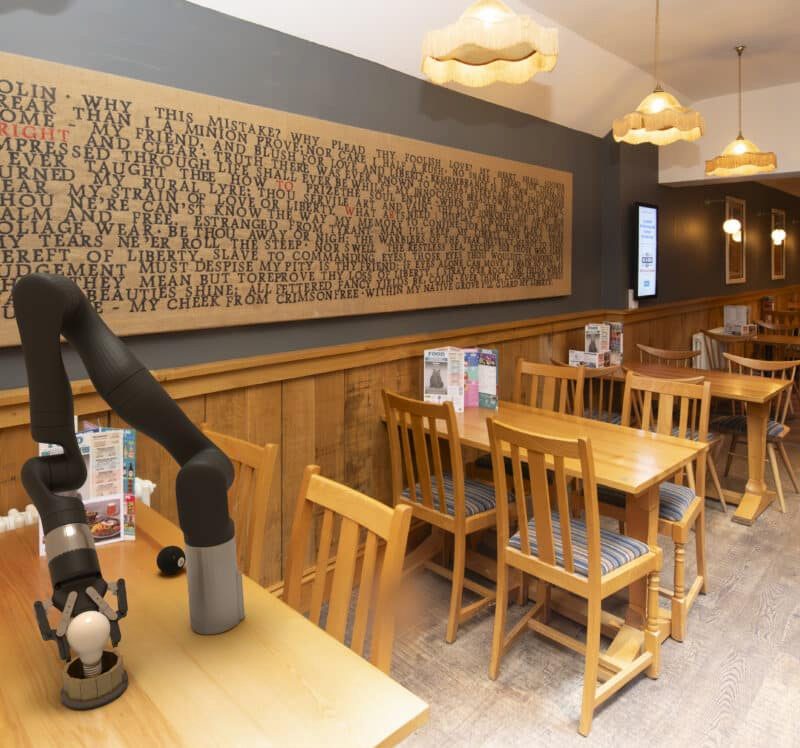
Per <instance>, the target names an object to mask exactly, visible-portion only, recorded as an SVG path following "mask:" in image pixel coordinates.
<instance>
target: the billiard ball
mask: <svg viewBox="0 0 800 748" xmlns="http://www.w3.org/2000/svg"><path fill="white" fill-rule="evenodd" d="M156 565H157V568H158V570H159V571H161V573H164V574H166V575H173V574H176V573H178V572H180V571H181V570H182V569H183V568H184V566H185V565H186V558H185V550H184V549H182V548H181V547H180V546H177V545H168V546H165V547H163V548H162V549H160V551H159V552H158V553H157V556H156Z"/></svg>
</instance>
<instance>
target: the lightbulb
mask: <svg viewBox="0 0 800 748" xmlns="http://www.w3.org/2000/svg"><path fill="white" fill-rule="evenodd" d="M66 635H67V640H68V643H69V648H71V649H72V651H74V652H75V653H76V654H77V656H79V657H80V660H81V661H82V662H83V669H84V676H85V677H87V678H93V677H96V676H98V675H99V674H100V673H101V672H102V664H101V656H102V653H103V649H104V647H105V646H106V643H107V642H108V640H109V638H110V623H109V620H108V619H107V617H106V616H105V615H104V614H102V613H100V612H97V611H87V612H83V613H81V614H79V615H78V616H76V617H75V618H72V620H70V622H69V625H68V628H67V631H66Z"/></svg>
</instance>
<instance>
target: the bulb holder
mask: <svg viewBox="0 0 800 748" xmlns="http://www.w3.org/2000/svg"><path fill="white" fill-rule="evenodd" d="M123 658H124V657H123V655H122V654H121V653H120V652H119V651H118V650H117V649H113V648H112V649H110V648H104V647H103V653H102V656H101V664H102V672H101V673H100V674H99V675H98V676H96V677H93V678H87V677H85V676H84V669H83V662H82V661H81V660H80V657H79V655H76V656H75V657H73V658H71V662H69V663H65V665H64V668H63V670H62V673H61V678H62V684H63V686H62V688H61V689H60V694H59V695H60V700H61V701H60V702H61V704H62V705H63V707H64V708H67V709H68V710H71V711H89V710H95V709H98V708H101V707H103V706H105V705H108V704H110V703H112V702H114V701H115V700H117V699H119V698H120V696H122V695H123V694H124V693H125V691H127V688H128V686H129V682H130V681H129V680H130V679H129V673H128V671H127V670H126V669H125V668H124V659H123Z"/></svg>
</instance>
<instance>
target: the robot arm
mask: <svg viewBox="0 0 800 748" xmlns="http://www.w3.org/2000/svg"><path fill="white" fill-rule="evenodd" d="M11 294H12V296H11V300H12V307H13V312H14V317H15V321H16V325H17V329H18V334H19V339H20V344H21V349H22V354H23V359H24V364H25V368H26V369H25V370H26V371H25V372H26V377H27V386H28V399H29V400H28V401H29V419H30V420H29V422H30V423H29V424H30V436H31V439H32V440H33V441H34V442H36V443H39V444H45V445H47V444H48V445H56V446H60V447H61V448H62V451H63V452H62V453H57V454H55V453H54V454H47V455H40V456H39V455H38V456H33V457H31V458H28V459H27V460H26V461H25V462H24V463H23V465H22V467H21V469H20V481H21V484H22V486H23V488H24V490H25V492H26V493H27V495H28V497H29V499H30V500H31V502H32V503H33V505H34V507H35V509H36V511H37V512H38V513H37V514H38V516H39V518H40V521H41V522H40V523H41V526H42V527H41V528H42V531H43V536H44V550H45V551H44V552H45V558H46V559H45V560H46V564H47V566H48V567H47V568H48V572H49V577H50V582H51V589H52V596H51V598H49V599H47V600H44V601H41V600H37V601H35V602H34V603H33V613H34V617H35V619H36V622H37V626H38V628H39V632H40V635H41V638H42V640H43V641H44V642H48V641H55V643H56V644H57V645H56V646H57V650H58V654H59V656H58V657H59V659H60V660H61V661H65V664H67V663H69V662H71V660H72V654H71V649H70V648H71V647H70V646H69V643H68V640H67V629H68V626H69V624H70V623H71V619H74V618H75V617H76V616H78V615H79V614H81V613H83V612H87V611H97V612H100V613H102V614H104V615H105V616H106V617H107V619H108V620H109V623H110V635H109V638H110V643H111V647H112V649H114V648H117V647H118V646H119V643H120V642H121V640H122V632H121V629H120V624H119V621H120V620H121V619H124V618H126V616H127V614H128V611H129V605H128V597H127V596H128V595H127V587H126V580H125V579H124V578H122V577H121V578H119V579H117V581H112V582H111V581H110V582H107V581H106V580H105V579H104V578H103V577H104V576H103V573H102V571H101V569H102V568H101V564H100V561H99V557H98V553H97V552H98V551H97V548H96V544H95V539H94V536H93V533H92V531H91V529H90V523H89V521H88V515H87V511H86V508H85V505H84V502H83V501H82V499H80V498H78V497H75V496H66V495H64V496H63V495H58V494H59V493H61V494H62V493H65V492H72V491H76V490H77V491H78V490H80V489H81V488H82V487H83V486H84V485H85V484H86V481H87V479H88V468H87V467H88V466H87V465H86V461H85V459H84V456H83V454H82V452H81V448H80V445H79V443H78V439H77V433H76V427H75V426H76V425H75V402H74V401H75V400H74V394H73V388H72V385H71V382H70V379H69V376H68V373H67V370H66V367H65V363H64V361H63V360H64V358H63V353H62V346H61V345H62V344H61V336H62V337H63V338H64V339H65V340H66V342H68V343H69V345H70V346H71V347H72V348H73V349H74V350H75V352H76V353H77V354H78V357H79V358H80V360H81V362H82V363H83V366H84V368H85V370H86V373H87V375H88V377H89V380H90V382H91V384H92V385H93V387H94V389H95V392H97V393H98V395H99V397H101V399H102V400H104V403H106V405H108V407H109V408H110V409H111V410H112V411H113V412H114V413H115V415H116V416H118V417H119V419H121V420H122V421H123V422H124V423H126V424H127V425H128V426H130V427H131V428H132V429H135V430H136V431H138V432H139V433H141V434H143V435H145V436H146V437H147V438H149V439H151V440H152V441H154V442H156V443H157V444H158V445H160V446H161V447H162V448H163V449H165V450H166V452H168V453H169V455H170V456H171V457H172V458H173V459H174V461H175V462H176V463H177V464H178V466H179V467H180V469H179V470H178V472H177V475H176V479H175V487H174V489H175V490H174V491H175V502H176V510H177V517H178V518H177V519H178V525H179V528H180V531H181V532H182V535H183V543H184V545H183V546H184V553H185V558H186V561H185V569H186V582H187V595H188V607H189V608H188V609H189V620H190V629H192V631H193V632H194V633H198V634H201V635H215V634H221V633H224V632H227V631H229V630H231V629H233V628H234V627H235V626H237V625H238V624H239V623H240V621H241V620H243V619H245V617H246V614H245V603H244V602H245V600H244V599H245V598H244V586H243V585H244V583H243V572H242V571H241V570H239V569H238V559H237V558H238V557H237V545H236V543H237V542H236V530H235V529H236V527H235V521H234V520H233V518H232V517H230V511H229V498H228V492H229V490H230V488H231V487H232V486H233V484H234V481H235V477H236V471H235V466H234V464H233V462H232V460H231V458H230V457H229V456H228V455H227V454H226V453H225V452H224V450H222V449H221V448H220V447H219V446H218V445H217V444H216V443H214V442H213V441H212V439H210V438H209V437H208V436H207V435H206V434H205V433H204V432H203V431H201V429H199V427H197V426H196V424H195V423H194V422H193V420H191V419H190V418H189V417H188V416H187V414H186V413H185V411H183V409H182V408H181V407H180V406H179V405H178V403H177V402H176V401H175V400H174V399H173V398H172V396H171V395H170V394H169V393H168V392H167V390H165V388H164V387H163V385H162V384H161V383H160V382H159V381H158V380H157V378H156V377H155V376H154V375H153V374H152V372H150V370H149V369H148V368H147V367H146V366H145V365H144V364H143V363H142V362H141V361H140V360H139V359H138V358H137V356H136V355H135V354H134V353H133V352H132V351H131V349H129V347H127V345H126V344H125V342H123V341H122V340H121V339H120V338H119V337H118V336H117V335H116V334H115V333H114V332H113V331H112V329H110V327H109V326H108V325H107V323H105V321H104V320H103V318H102V317H101V316H100V314H99V313H98V312H97V310H96V309H95V307H94V306H93V304H92V303H91V301H90V300H89V299H88V297H87V295H86V294H85V293H84V291H83V290H82V289H81V287H80V286H79V285H78V284H77V283H76V282H75V281H74V280H72V279H71V278H70V277H68V276H66V275H64V274H60V273H53V272H52V273H51V272H31V273H28V274H25V275H23V276H21V277H20V278H19V279H18V280H17V282H16V283H15V284H14V287H13V289H12V293H11ZM108 591H110V593H111V594H112V596H116V601H117V610H113V609H112V608H111V606H110V604H109V603H108V602H107V601H106V600H105V599H104V598H105V596H106V594H107V592H108ZM52 607H54V608H56V610H59V612H61V613H62V614H61V617H60V621H59V623H58V627H57V629H56V628H55V629H53V628H52V627H51V625H50V622H49V618H48V616H47V615H49V614H50V612H51V611H50V610H51V609H50V608H52Z"/></svg>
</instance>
